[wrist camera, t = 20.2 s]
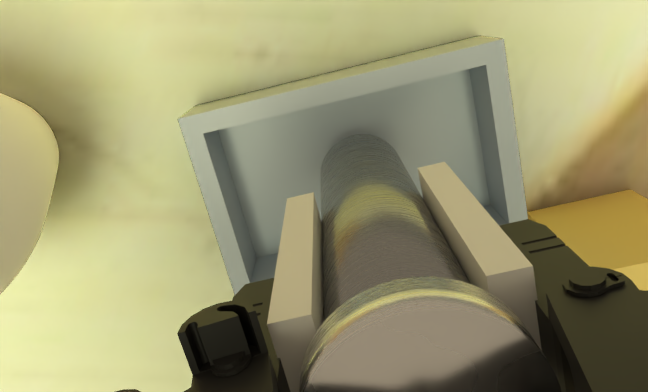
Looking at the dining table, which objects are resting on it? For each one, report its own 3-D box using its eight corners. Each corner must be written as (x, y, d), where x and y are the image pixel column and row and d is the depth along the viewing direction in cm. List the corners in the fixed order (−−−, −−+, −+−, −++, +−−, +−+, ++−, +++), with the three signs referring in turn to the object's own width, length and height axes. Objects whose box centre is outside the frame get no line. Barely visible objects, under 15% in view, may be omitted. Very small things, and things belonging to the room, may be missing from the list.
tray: (246, 270, 24) (237, 303, 22) (195, 105, 22) (177, 118, 19) (504, 211, 24) (530, 238, 21) (478, 35, 22) (503, 38, 19)
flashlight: (323, 233, 21) (331, 550, 9) (297, 137, 20) (266, 344, 8) (422, 210, 21) (576, 502, 8) (402, 111, 20) (549, 282, 7)
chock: (538, 308, 25) (602, 394, 20) (526, 211, 24) (591, 274, 18) (636, 288, 25) (730, 369, 19) (629, 189, 24) (729, 244, 18)
